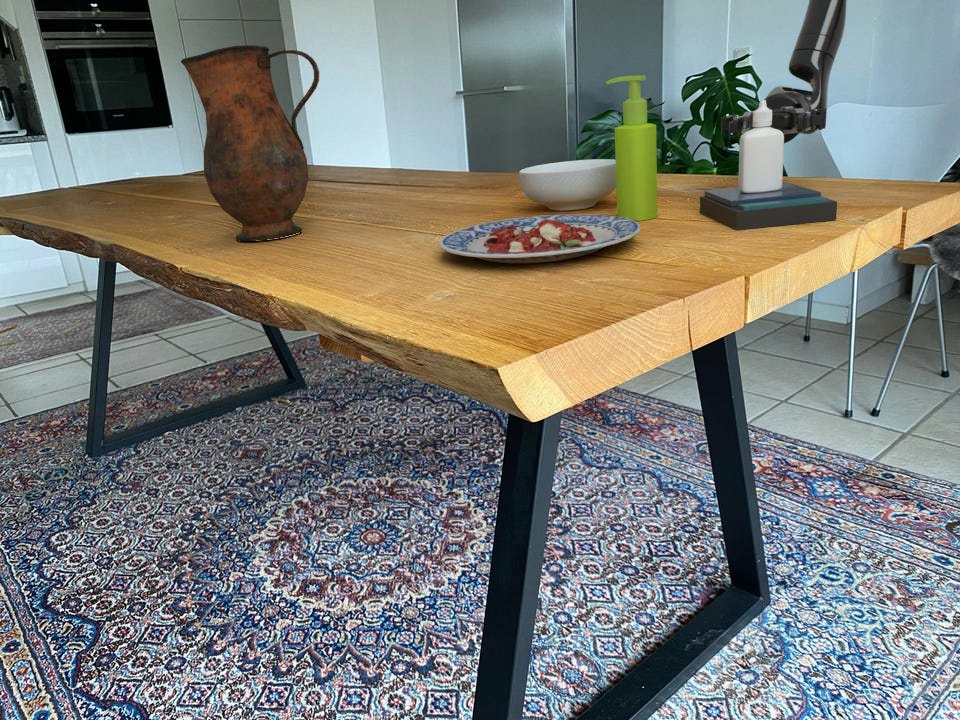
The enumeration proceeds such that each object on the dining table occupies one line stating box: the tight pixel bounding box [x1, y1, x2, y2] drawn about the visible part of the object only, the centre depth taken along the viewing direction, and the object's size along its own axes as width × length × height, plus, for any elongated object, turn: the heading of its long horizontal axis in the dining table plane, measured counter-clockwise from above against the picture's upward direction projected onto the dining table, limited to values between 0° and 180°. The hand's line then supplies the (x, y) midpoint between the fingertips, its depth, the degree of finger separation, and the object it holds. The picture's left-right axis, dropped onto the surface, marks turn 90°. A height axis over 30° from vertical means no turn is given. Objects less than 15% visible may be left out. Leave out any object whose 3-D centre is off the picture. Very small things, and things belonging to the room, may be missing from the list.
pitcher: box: [180, 44, 320, 242], centre depth 122 cm, size 17×21×30 cm
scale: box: [699, 195, 838, 231], centre depth 102 cm, size 13×15×3 cm
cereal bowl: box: [518, 158, 616, 212], centre depth 124 cm, size 17×17×7 cm
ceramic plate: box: [438, 213, 641, 264], centre depth 95 cm, size 26×26×3 cm
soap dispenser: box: [605, 75, 658, 222], centre depth 107 cm, size 6×7×20 cm
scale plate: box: [703, 182, 822, 207], centre depth 103 cm, size 12×11×1 cm
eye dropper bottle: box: [737, 99, 785, 193], centre depth 100 cm, size 4×6×12 cm
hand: (766, 125), depth 102 cm, fingers open, 8 cm apart
